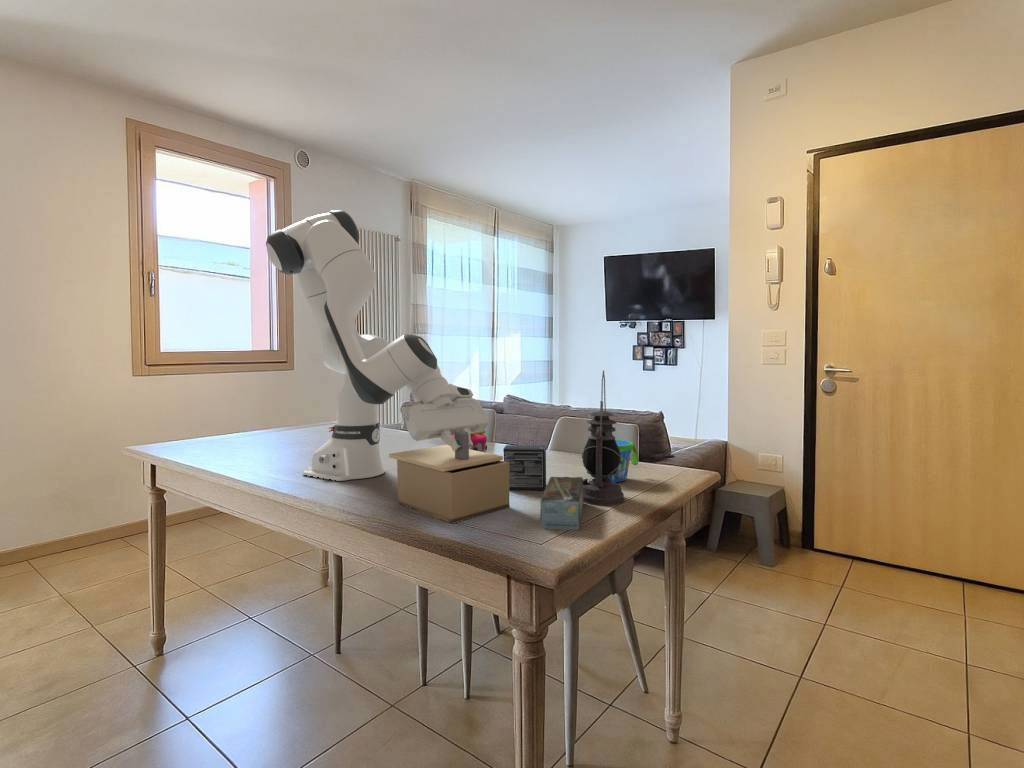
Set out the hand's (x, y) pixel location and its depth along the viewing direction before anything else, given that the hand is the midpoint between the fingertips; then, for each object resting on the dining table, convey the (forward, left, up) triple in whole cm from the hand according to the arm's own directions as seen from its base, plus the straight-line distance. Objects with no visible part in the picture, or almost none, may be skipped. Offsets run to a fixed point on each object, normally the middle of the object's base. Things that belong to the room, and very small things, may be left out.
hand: (463, 448), depth 118 cm
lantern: (+27, +17, -14) cm, 35 cm away
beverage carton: (+22, +2, -14) cm, 26 cm away
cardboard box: (-4, +2, -13) cm, 14 cm away
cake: (-12, +30, -14) cm, 35 cm away
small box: (+7, +22, -14) cm, 27 cm away
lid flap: (-6, +3, -3) cm, 7 cm away
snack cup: (+27, +36, -14) cm, 47 cm away
